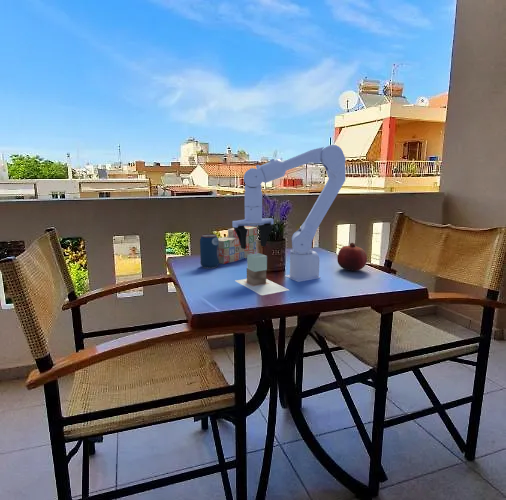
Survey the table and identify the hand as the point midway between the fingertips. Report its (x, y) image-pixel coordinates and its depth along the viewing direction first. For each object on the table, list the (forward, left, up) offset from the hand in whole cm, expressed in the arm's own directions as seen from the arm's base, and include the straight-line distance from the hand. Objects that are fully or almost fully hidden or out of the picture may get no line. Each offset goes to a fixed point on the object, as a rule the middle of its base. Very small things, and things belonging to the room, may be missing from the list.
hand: (253, 247), depth 124 cm
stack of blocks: (-8, -28, -11) cm, 31 cm away
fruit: (-35, +10, -11) cm, 38 cm away
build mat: (+3, +10, -10) cm, 15 cm away
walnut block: (+3, +7, -10) cm, 12 cm away
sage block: (+3, +7, -6) cm, 10 cm away
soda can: (+7, -21, -11) cm, 25 cm away
